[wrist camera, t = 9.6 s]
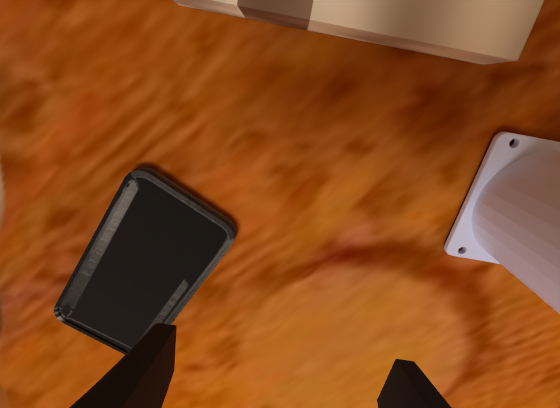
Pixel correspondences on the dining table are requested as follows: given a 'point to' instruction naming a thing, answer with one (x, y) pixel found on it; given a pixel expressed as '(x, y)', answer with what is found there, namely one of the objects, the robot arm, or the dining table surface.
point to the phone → (143, 260)
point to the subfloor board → (403, 23)
